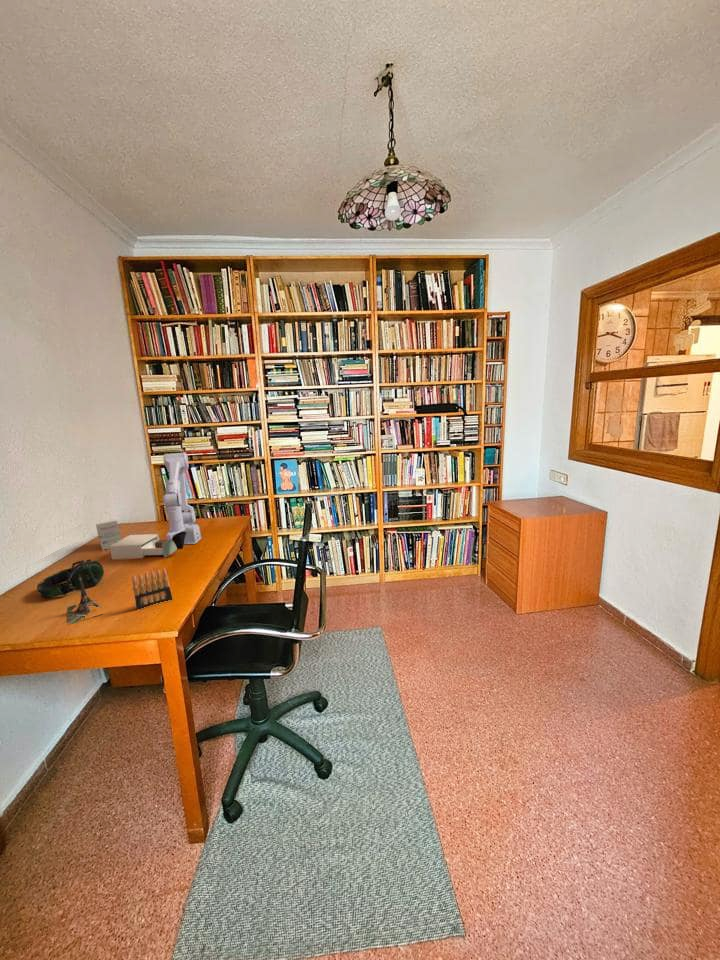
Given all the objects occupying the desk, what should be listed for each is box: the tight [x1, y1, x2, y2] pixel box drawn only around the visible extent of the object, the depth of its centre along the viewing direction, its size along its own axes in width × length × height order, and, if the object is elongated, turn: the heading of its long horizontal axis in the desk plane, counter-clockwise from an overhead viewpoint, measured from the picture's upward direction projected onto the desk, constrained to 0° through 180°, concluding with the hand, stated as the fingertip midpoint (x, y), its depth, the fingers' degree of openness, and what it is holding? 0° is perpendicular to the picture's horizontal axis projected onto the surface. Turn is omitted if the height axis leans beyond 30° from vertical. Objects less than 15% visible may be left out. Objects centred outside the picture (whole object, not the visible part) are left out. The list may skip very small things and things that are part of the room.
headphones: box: [36, 559, 105, 599], centre depth 139 cm, size 13×13×20 cm
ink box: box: [95, 519, 122, 551], centre depth 182 cm, size 9×9×12 cm
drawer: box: [142, 539, 178, 558], centre depth 170 cm, size 14×14×6 cm
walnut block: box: [155, 538, 169, 548], centre depth 170 cm, size 4×4×4 cm
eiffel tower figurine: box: [65, 575, 100, 624], centre depth 122 cm, size 15×10×13 cm
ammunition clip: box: [131, 567, 173, 611], centre depth 123 cm, size 11×2×12 cm, turn 122°
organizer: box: [109, 533, 160, 560], centre depth 171 cm, size 14×14×6 cm
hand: (180, 548), depth 166 cm, fingers closed
